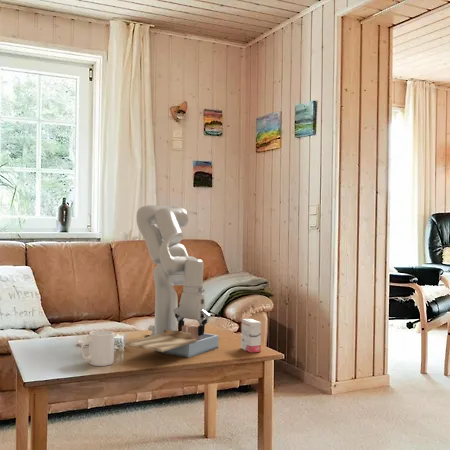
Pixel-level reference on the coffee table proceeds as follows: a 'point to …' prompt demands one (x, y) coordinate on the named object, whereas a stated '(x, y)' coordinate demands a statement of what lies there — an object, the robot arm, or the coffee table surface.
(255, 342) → the ink box
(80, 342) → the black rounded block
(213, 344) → the blue open box
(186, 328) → the parcel
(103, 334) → the mug
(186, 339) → the lid
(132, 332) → the coffee table surface
